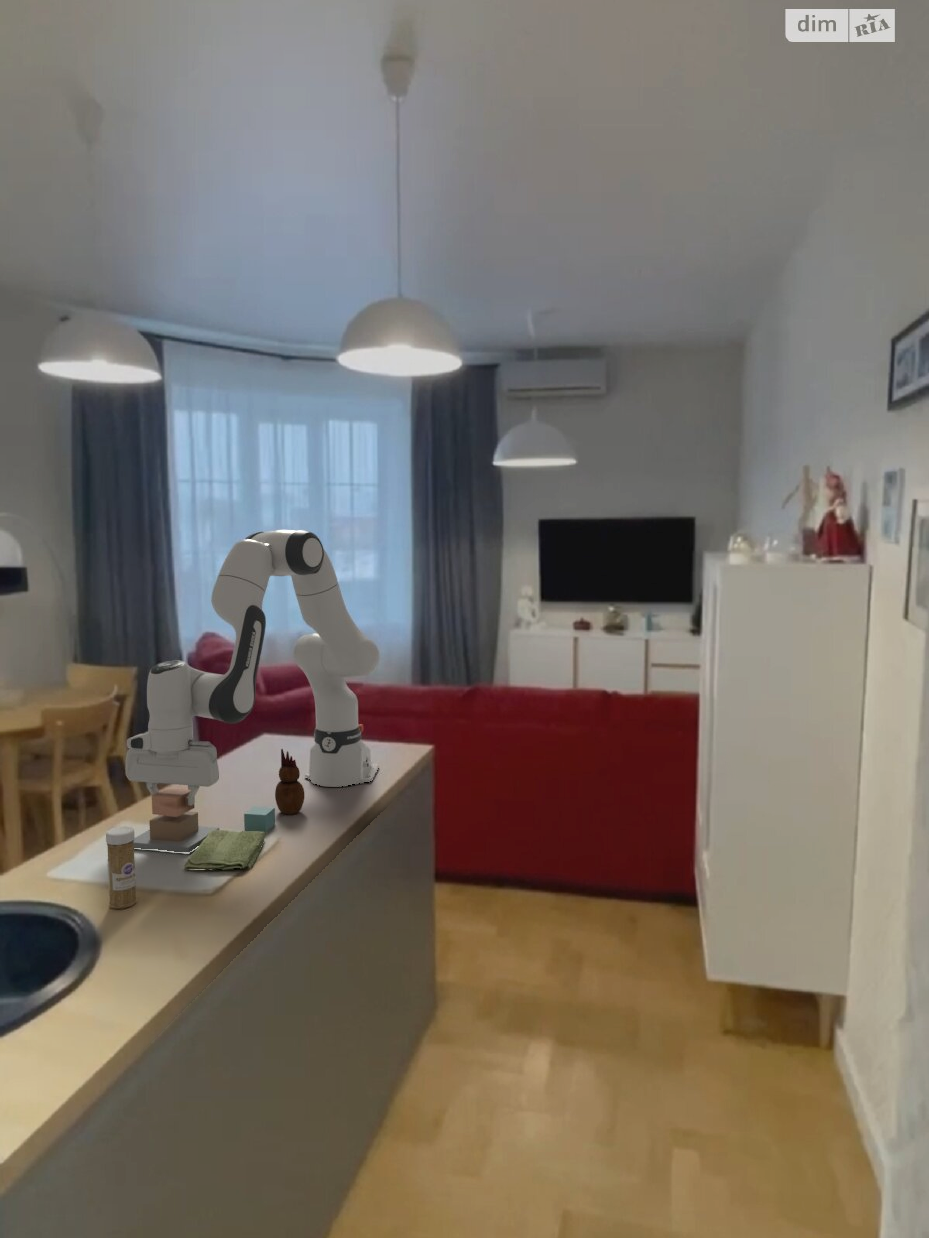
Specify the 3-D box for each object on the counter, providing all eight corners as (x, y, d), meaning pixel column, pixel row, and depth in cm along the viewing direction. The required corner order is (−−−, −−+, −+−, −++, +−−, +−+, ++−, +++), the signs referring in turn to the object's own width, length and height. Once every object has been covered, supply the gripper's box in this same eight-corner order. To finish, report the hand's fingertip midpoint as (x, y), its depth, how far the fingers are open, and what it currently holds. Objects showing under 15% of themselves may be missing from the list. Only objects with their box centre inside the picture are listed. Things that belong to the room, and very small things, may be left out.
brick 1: (170, 805, 178) (170, 787, 178) (194, 807, 176) (193, 789, 176) (152, 813, 172) (151, 795, 172) (176, 816, 171) (176, 797, 170)
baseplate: (162, 829, 182) (161, 804, 182) (219, 834, 179) (218, 809, 179) (128, 848, 171) (127, 823, 170) (188, 854, 168) (187, 828, 167)
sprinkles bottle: (123, 911, 142) (120, 835, 141) (103, 907, 144) (99, 832, 142) (142, 900, 146) (139, 827, 145) (122, 896, 148) (119, 823, 147)
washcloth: (181, 875, 159) (180, 859, 158) (208, 841, 176) (208, 826, 176) (249, 874, 159) (249, 858, 158) (270, 841, 176) (270, 826, 176)
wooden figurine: (271, 812, 194) (269, 749, 192) (291, 806, 198) (290, 744, 197) (288, 818, 189) (286, 754, 188) (308, 812, 193) (307, 749, 192)
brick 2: (254, 823, 186) (253, 806, 186) (275, 824, 186) (274, 807, 185) (244, 831, 182) (244, 813, 181) (266, 832, 181) (265, 815, 180)
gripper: (223, 738, 174) (225, 802, 175) (138, 733, 178) (140, 795, 180) (207, 745, 167) (209, 811, 169) (119, 739, 172) (122, 804, 174)
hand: (173, 803), depth 174 cm, fingers closed on brick 1, 6 cm apart
